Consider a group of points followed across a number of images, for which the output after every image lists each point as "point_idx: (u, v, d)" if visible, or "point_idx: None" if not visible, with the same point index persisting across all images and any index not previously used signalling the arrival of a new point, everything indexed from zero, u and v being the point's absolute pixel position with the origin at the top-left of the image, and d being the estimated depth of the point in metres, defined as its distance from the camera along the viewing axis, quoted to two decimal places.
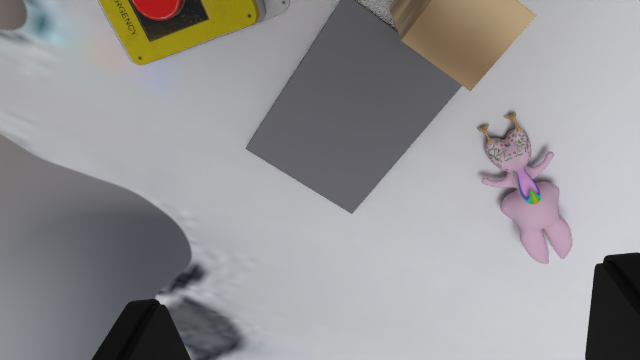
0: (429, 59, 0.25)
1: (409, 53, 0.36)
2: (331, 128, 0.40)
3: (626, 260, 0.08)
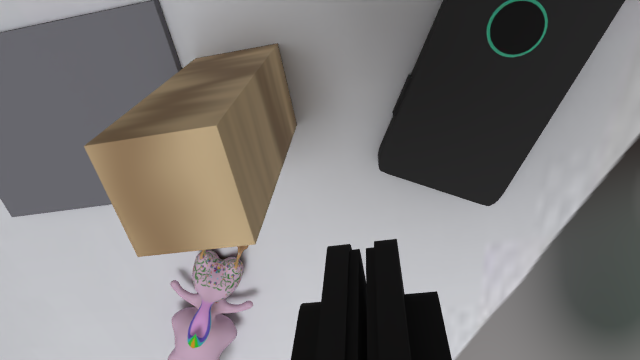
0: (108, 193, 0.17)
1: None
2: (43, 119, 0.28)
3: (381, 245, 0.10)
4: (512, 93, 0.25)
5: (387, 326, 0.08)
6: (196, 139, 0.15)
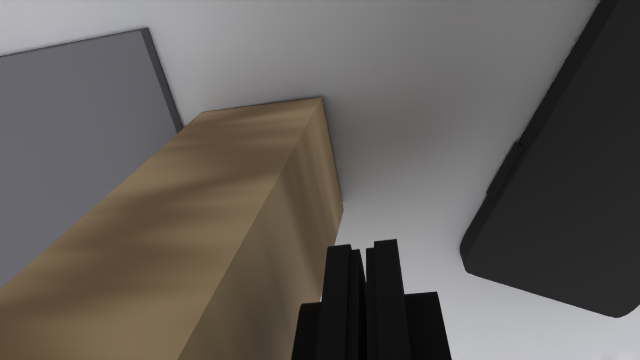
0: None
1: None
2: None
3: (381, 245, 0.10)
4: None
5: (387, 326, 0.08)
6: None
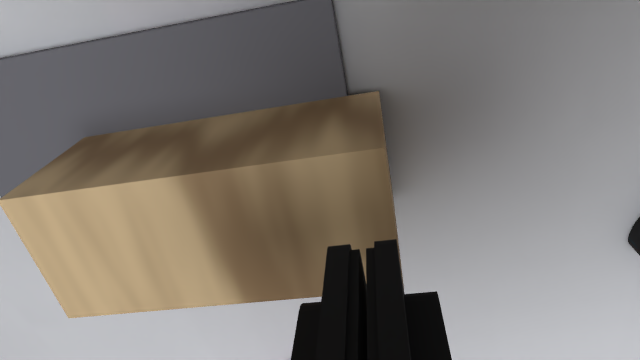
0: None
1: None
2: None
3: (381, 245, 0.10)
4: None
5: (387, 326, 0.08)
6: None
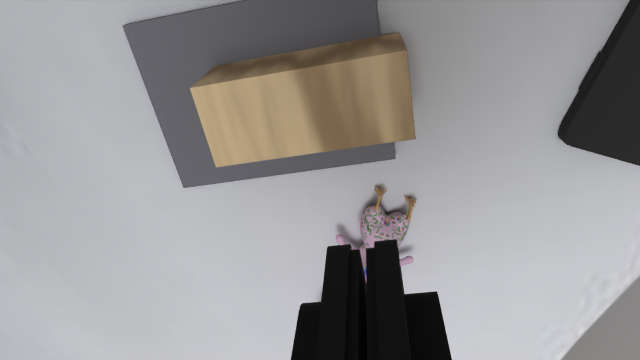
0: None
1: None
2: None
3: (381, 245, 0.10)
4: None
5: (387, 326, 0.08)
6: None
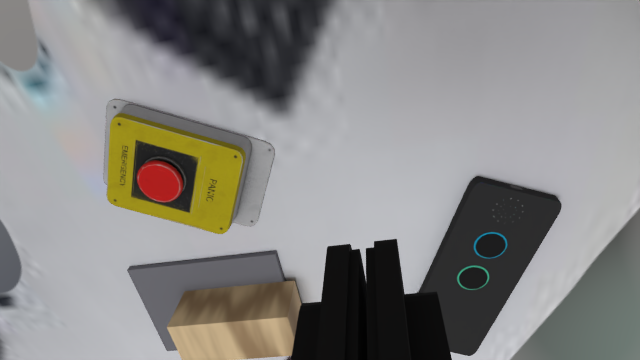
0: None
1: None
2: None
3: (381, 245, 0.10)
4: (475, 304, 0.45)
5: (387, 326, 0.08)
6: None
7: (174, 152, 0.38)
